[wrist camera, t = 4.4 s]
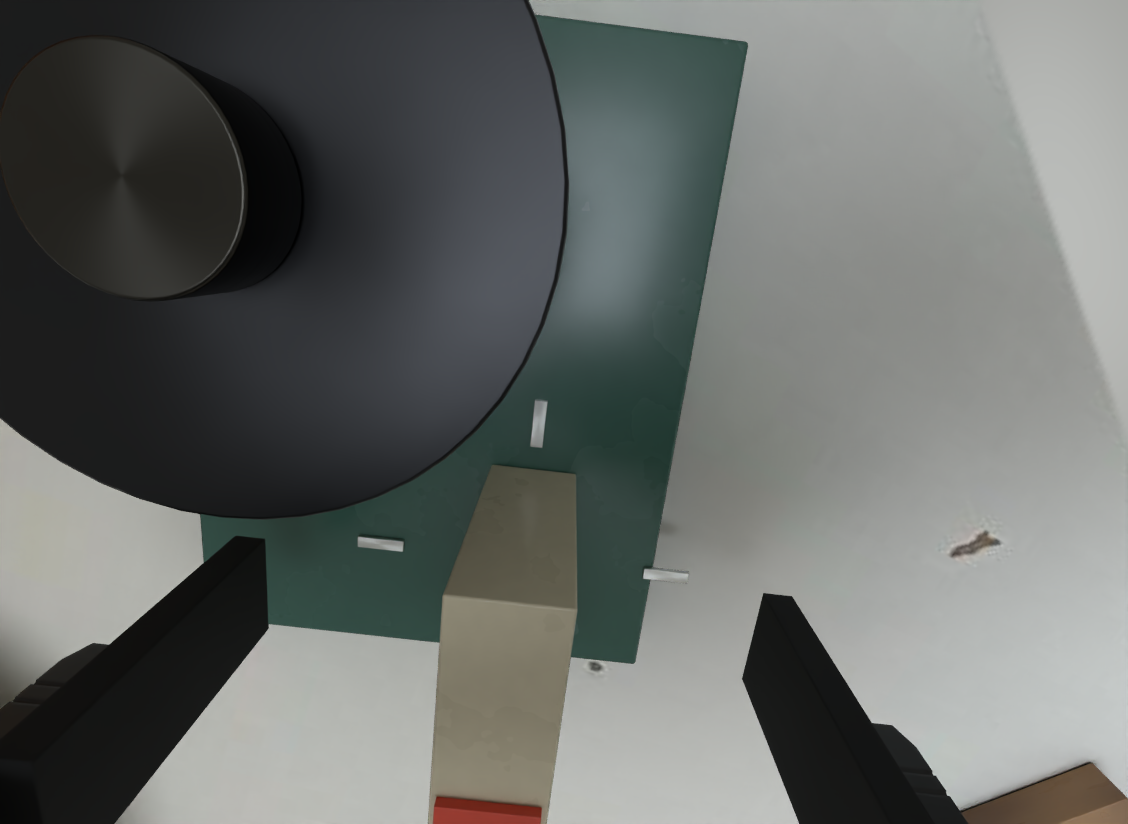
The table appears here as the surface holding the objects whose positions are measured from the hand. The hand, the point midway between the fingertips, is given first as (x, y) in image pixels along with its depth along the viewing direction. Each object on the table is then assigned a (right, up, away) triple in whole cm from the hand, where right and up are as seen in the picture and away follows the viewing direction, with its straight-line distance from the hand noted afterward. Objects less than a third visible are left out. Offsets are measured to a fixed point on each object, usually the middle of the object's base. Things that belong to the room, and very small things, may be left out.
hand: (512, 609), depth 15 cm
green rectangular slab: (-2, +7, +3) cm, 8 cm away
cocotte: (-3, +10, 0) cm, 11 cm away
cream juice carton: (0, +1, +3) cm, 3 cm away
